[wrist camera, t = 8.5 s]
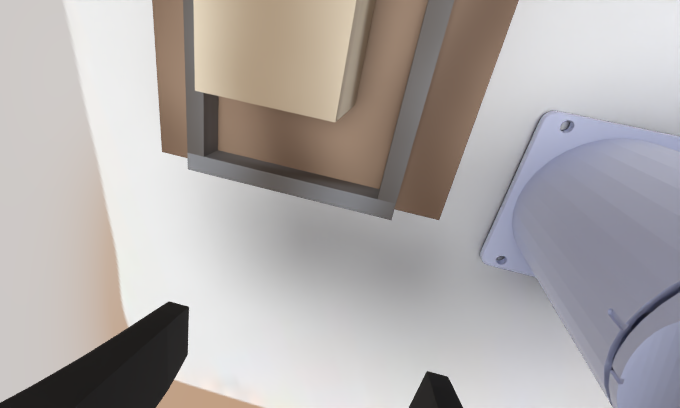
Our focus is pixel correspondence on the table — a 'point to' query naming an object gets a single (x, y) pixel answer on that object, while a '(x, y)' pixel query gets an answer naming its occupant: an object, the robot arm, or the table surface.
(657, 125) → the table surface
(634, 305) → the robot arm
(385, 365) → the table surface
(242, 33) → the beige lidded box
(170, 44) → the dock
